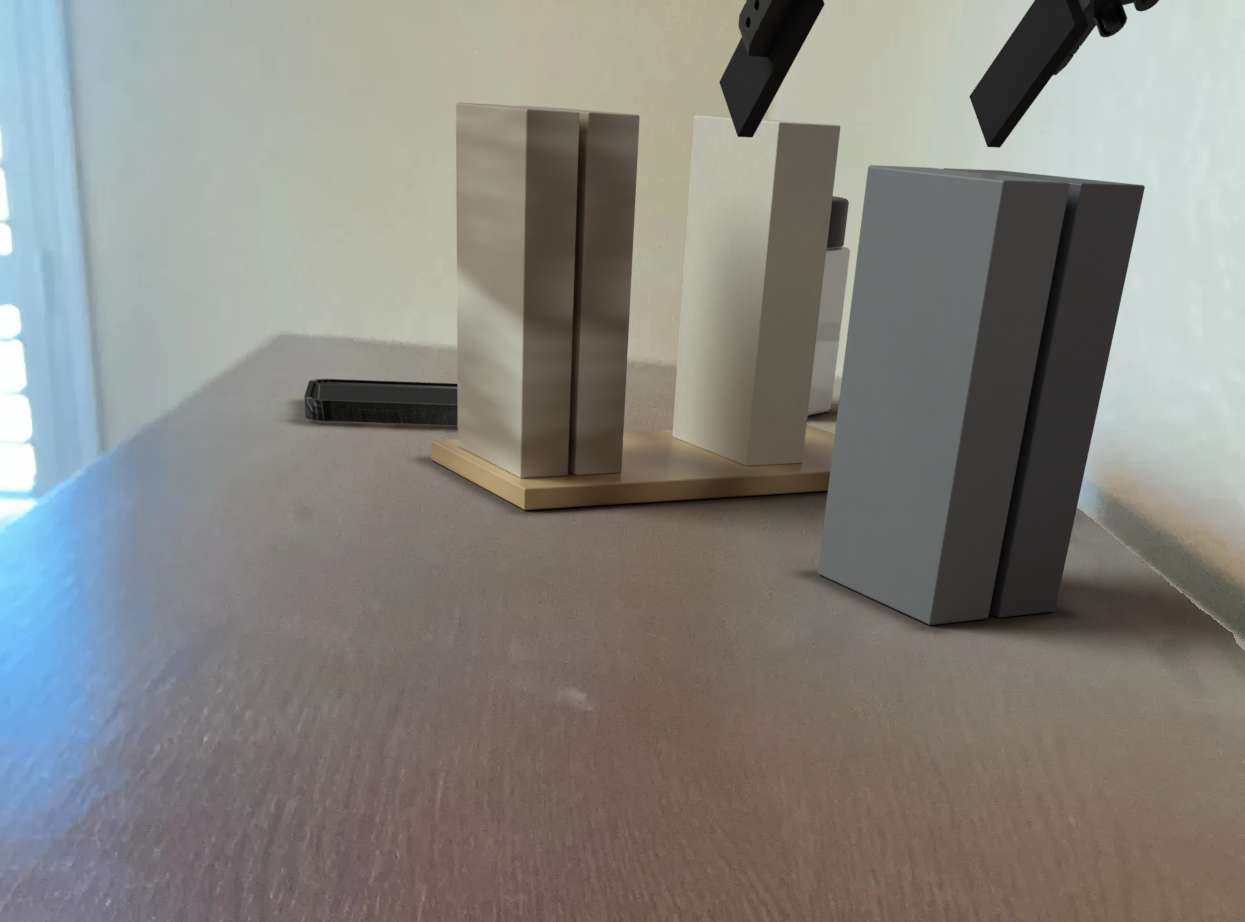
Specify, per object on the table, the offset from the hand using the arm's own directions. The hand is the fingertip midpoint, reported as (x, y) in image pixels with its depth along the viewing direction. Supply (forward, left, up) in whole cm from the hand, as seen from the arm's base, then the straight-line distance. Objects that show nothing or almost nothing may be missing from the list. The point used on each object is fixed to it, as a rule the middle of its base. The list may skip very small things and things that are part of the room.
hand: (864, 117), depth 69 cm
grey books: (+5, +16, -16) cm, 24 cm away
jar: (-12, -25, -17) cm, 32 cm away
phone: (+11, -26, -16) cm, 32 cm away
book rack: (+4, -8, -16) cm, 19 cm away
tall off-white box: (0, -8, -15) cm, 17 cm away
